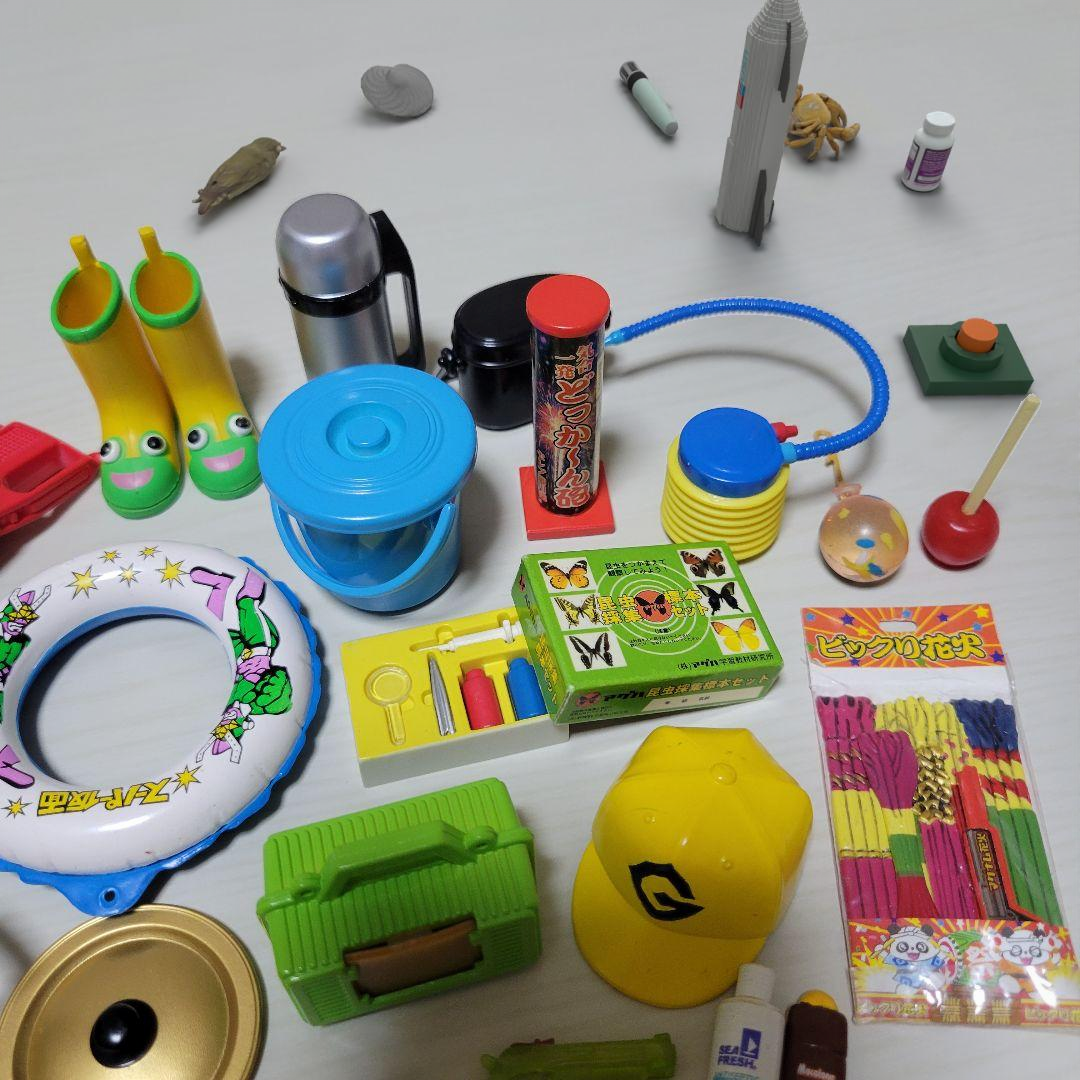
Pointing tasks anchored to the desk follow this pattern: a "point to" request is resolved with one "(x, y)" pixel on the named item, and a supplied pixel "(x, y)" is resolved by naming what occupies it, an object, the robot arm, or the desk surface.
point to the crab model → (818, 121)
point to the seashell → (397, 90)
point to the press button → (977, 335)
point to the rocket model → (761, 117)
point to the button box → (965, 363)
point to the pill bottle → (929, 152)
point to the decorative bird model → (239, 172)
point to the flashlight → (648, 97)
